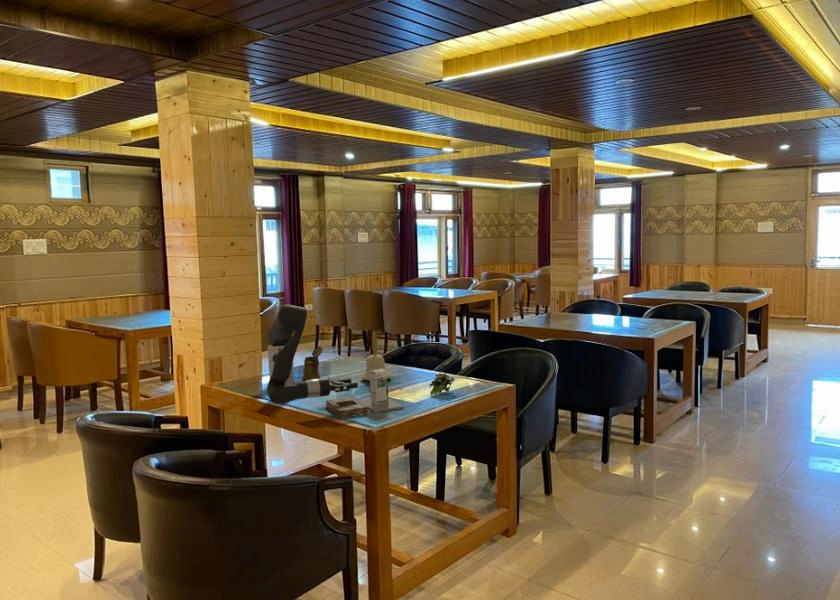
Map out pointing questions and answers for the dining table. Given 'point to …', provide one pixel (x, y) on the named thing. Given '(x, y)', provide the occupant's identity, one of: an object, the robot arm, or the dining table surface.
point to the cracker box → (271, 352)
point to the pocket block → (346, 406)
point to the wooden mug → (312, 365)
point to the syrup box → (379, 386)
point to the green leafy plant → (441, 383)
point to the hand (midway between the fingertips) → (354, 383)
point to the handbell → (374, 360)
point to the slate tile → (383, 407)
